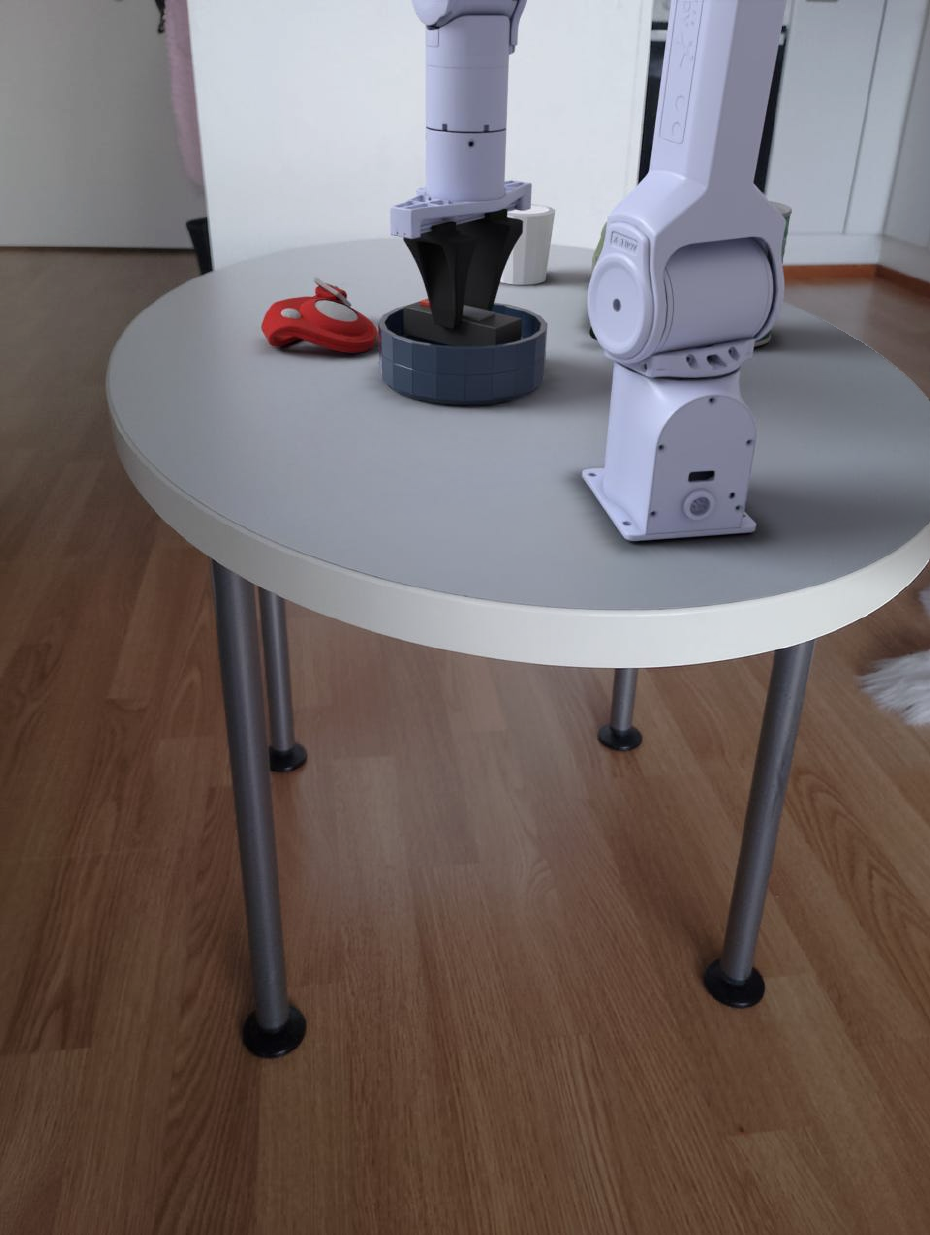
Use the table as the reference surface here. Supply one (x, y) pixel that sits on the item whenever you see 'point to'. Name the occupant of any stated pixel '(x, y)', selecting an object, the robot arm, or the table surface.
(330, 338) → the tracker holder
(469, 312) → the remote
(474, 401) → the bowl
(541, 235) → the white cup
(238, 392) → the table surface
